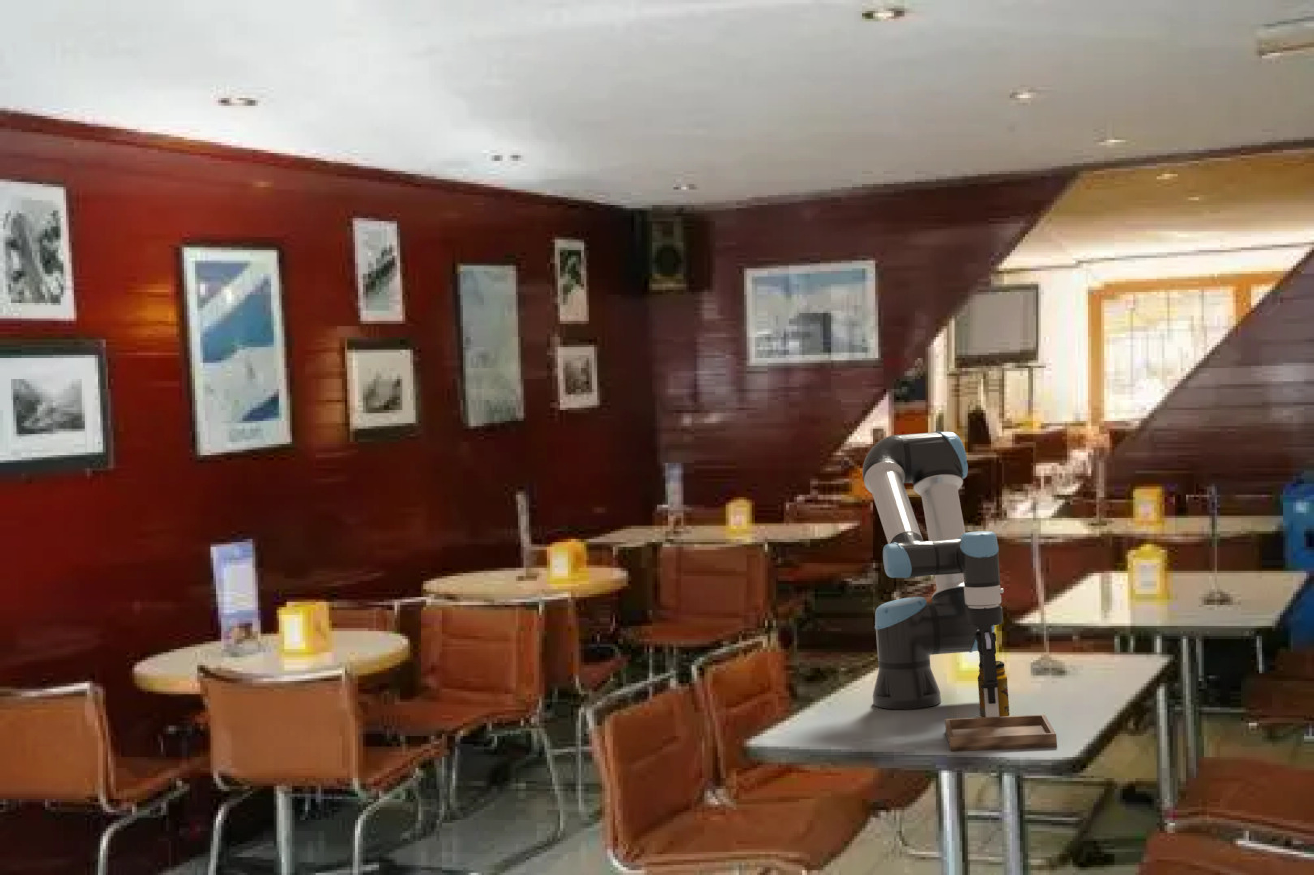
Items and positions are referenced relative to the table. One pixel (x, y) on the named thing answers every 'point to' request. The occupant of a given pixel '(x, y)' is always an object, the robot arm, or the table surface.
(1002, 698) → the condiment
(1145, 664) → the table surface
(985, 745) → the walnut tray
